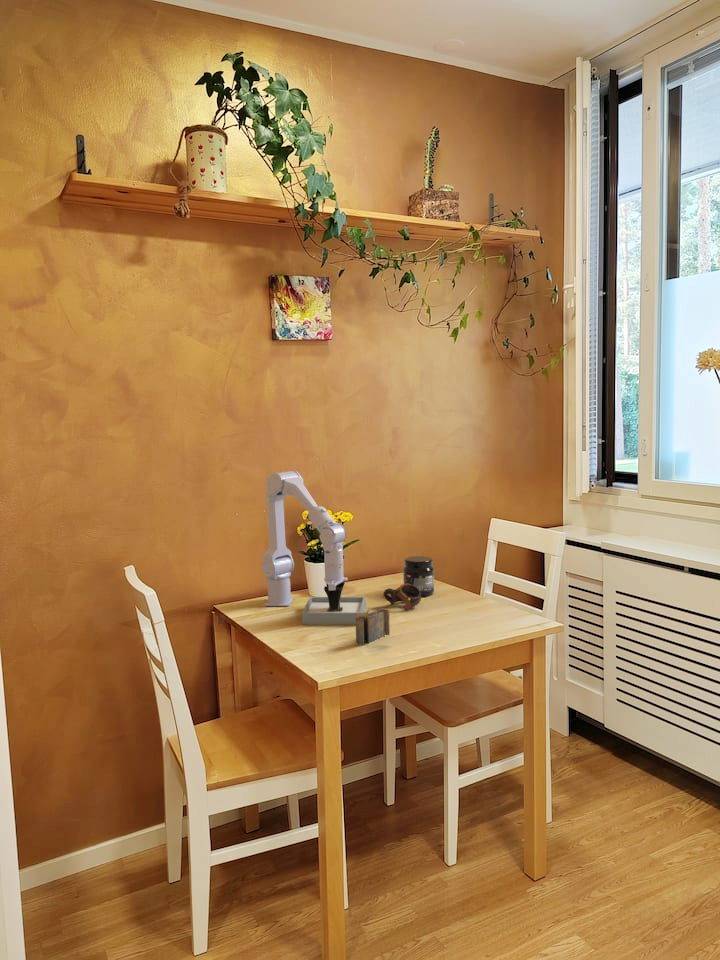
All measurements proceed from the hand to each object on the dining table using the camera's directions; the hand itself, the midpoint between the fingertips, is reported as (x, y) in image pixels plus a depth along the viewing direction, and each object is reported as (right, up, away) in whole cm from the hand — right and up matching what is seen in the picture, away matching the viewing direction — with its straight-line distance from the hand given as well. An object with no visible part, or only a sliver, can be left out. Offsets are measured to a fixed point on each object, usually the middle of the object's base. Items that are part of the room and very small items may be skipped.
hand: (335, 607), depth 226 cm
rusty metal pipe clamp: (+21, -2, +9) cm, 23 cm away
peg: (0, -2, 0) cm, 2 cm away
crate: (0, -3, 0) cm, 3 cm away
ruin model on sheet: (+11, -6, -23) cm, 26 cm away
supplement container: (+28, 0, +24) cm, 37 cm away
